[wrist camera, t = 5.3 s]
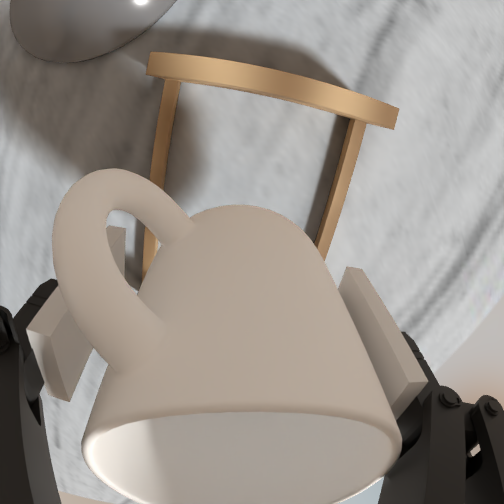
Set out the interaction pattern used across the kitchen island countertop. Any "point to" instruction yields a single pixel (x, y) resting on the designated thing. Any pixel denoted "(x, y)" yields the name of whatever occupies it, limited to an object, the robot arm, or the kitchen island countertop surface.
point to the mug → (219, 356)
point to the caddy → (270, 85)
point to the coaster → (81, 26)
